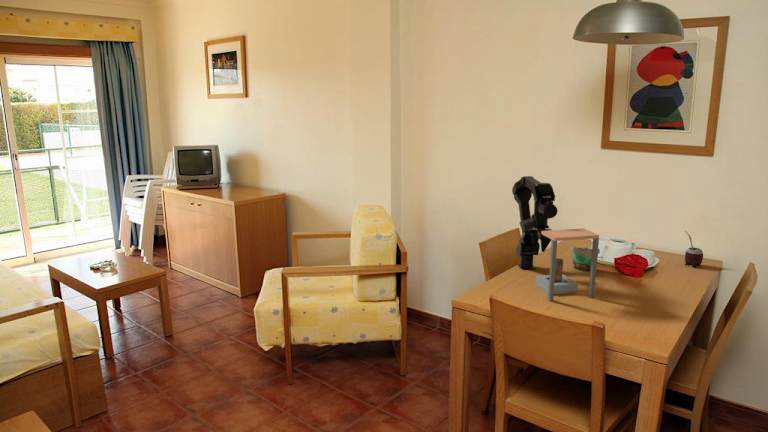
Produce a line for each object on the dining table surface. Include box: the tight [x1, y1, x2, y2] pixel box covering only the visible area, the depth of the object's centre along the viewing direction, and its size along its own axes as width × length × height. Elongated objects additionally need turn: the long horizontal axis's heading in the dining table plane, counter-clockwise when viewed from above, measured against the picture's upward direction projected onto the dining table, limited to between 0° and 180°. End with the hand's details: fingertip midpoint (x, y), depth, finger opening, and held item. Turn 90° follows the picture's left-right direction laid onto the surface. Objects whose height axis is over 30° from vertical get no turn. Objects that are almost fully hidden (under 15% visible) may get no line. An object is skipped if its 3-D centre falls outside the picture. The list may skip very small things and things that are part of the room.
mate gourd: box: [684, 230, 704, 268], centre depth 240 cm, size 8×8×15 cm
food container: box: [570, 245, 601, 272], centre depth 237 cm, size 12×6×10 cm, turn 62°
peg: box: [555, 257, 564, 283], centre depth 215 cm, size 4×4×12 cm
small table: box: [535, 228, 600, 302], centre depth 210 cm, size 19×18×25 cm
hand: (538, 248), depth 225 cm, fingers open, 9 cm apart
